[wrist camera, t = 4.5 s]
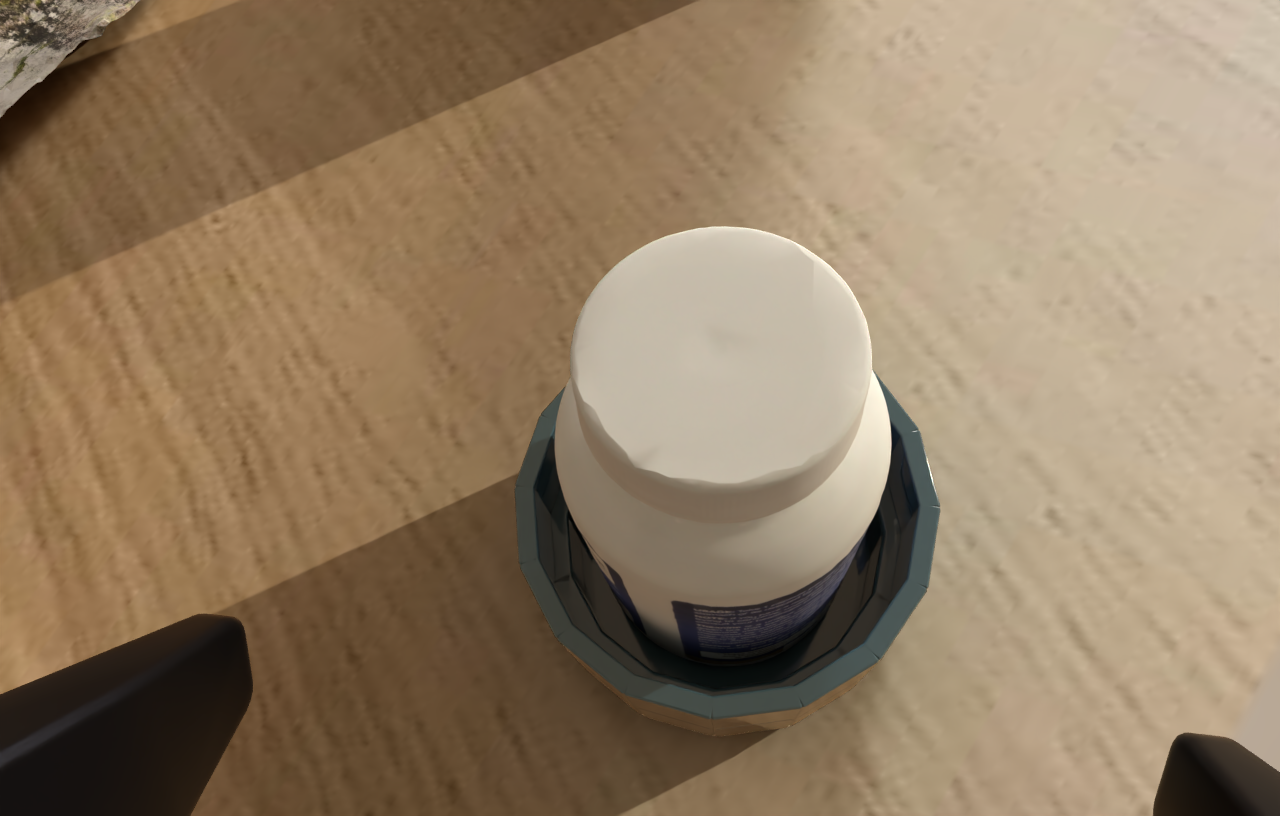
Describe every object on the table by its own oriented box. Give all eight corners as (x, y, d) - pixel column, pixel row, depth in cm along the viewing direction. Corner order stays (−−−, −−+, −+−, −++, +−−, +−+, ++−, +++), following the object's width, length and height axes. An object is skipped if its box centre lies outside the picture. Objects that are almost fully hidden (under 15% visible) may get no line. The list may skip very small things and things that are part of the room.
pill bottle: (875, 493, 21) (986, 252, 12) (788, 713, 19) (842, 623, 10) (666, 409, 22) (625, 136, 13) (565, 605, 20) (439, 443, 11)
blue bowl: (966, 518, 20) (1018, 454, 17) (765, 818, 18) (774, 819, 15) (689, 341, 23) (682, 252, 19) (483, 584, 21) (431, 536, 17)
